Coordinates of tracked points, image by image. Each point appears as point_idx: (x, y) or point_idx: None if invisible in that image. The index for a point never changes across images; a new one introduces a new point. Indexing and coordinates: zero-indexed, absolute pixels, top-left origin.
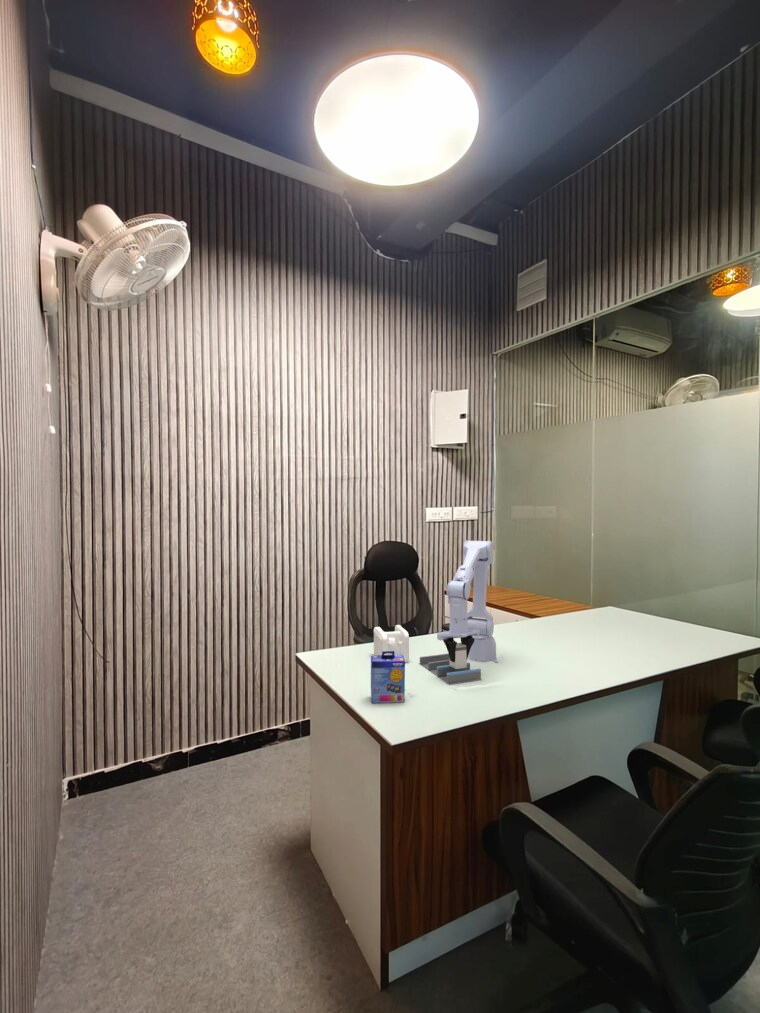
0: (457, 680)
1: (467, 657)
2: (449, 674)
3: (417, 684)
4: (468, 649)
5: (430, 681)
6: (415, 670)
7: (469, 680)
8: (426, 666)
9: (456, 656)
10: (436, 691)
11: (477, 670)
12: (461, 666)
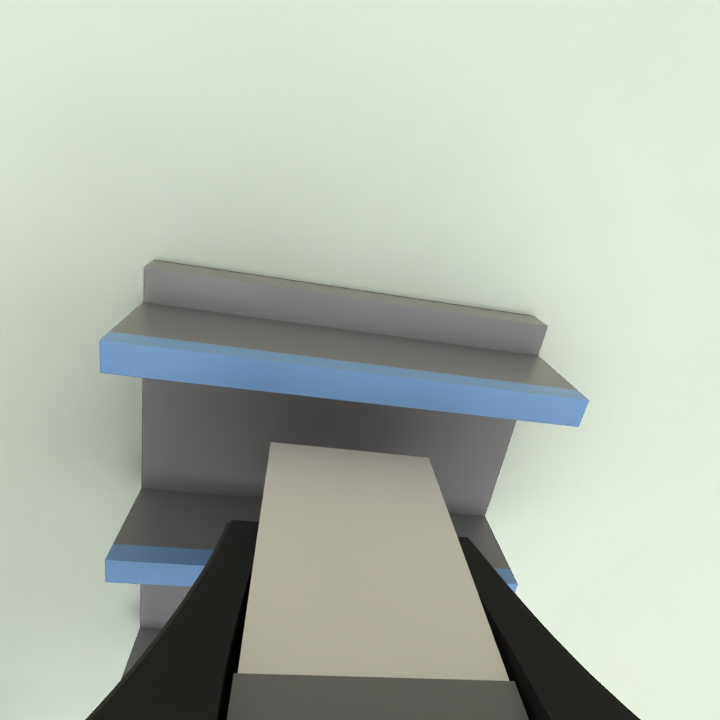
0: (439, 349)
1: (226, 545)
2: (564, 393)
3: (663, 495)
4: (186, 667)
5: (542, 502)
6: None
7: (294, 322)
8: None
9: (456, 585)
10: (672, 316)
11: (161, 342)
12: (350, 463)
